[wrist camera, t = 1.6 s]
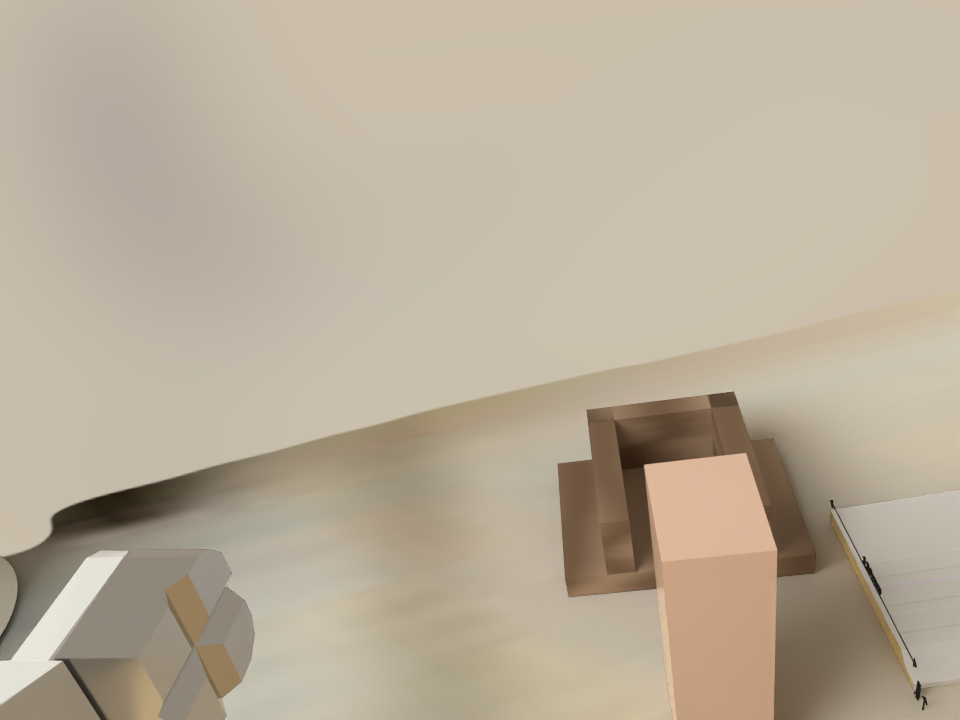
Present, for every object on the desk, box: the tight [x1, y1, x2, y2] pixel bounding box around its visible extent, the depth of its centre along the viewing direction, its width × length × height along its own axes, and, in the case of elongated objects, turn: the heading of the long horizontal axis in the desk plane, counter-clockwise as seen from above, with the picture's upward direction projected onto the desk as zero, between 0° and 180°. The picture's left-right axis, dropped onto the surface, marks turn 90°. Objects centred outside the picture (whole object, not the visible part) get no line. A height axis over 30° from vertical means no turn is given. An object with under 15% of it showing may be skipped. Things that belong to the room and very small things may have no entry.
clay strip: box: [644, 453, 777, 720], centre depth 37 cm, size 4×5×14 cm
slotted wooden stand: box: [558, 392, 816, 597], centre depth 49 cm, size 13×9×6 cm
